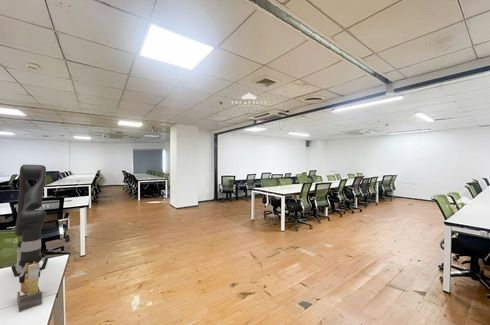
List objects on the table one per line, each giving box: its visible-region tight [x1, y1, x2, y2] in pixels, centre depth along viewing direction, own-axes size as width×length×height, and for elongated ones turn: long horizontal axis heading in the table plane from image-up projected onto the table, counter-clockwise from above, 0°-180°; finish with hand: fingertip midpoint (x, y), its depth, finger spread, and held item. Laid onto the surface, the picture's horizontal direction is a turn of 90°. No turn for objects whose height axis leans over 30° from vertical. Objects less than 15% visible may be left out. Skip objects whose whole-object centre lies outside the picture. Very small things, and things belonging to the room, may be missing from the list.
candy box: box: [20, 262, 40, 296], centre depth 110 cm, size 9×4×15 cm, turn 65°
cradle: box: [16, 285, 43, 313], centre depth 108 cm, size 15×8×6 cm, turn 50°
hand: (29, 280), depth 110 cm, fingers closed on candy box, 5 cm apart
